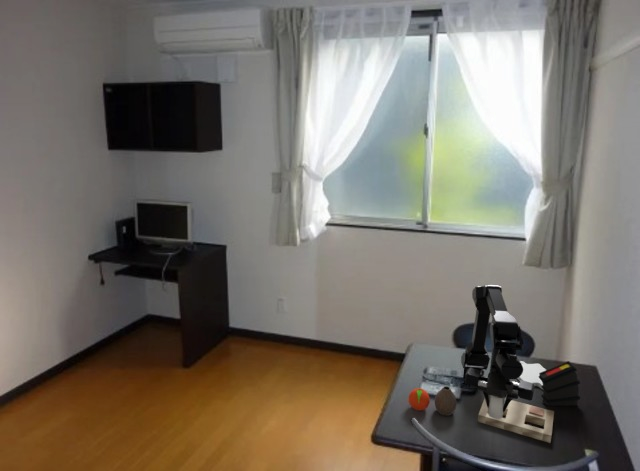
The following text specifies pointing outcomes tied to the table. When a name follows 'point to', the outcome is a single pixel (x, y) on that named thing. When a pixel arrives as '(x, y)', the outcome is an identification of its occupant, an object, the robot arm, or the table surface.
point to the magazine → (560, 385)
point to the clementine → (419, 399)
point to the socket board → (521, 420)
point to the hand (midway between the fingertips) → (496, 409)
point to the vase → (445, 401)
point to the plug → (496, 407)
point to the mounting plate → (531, 373)
